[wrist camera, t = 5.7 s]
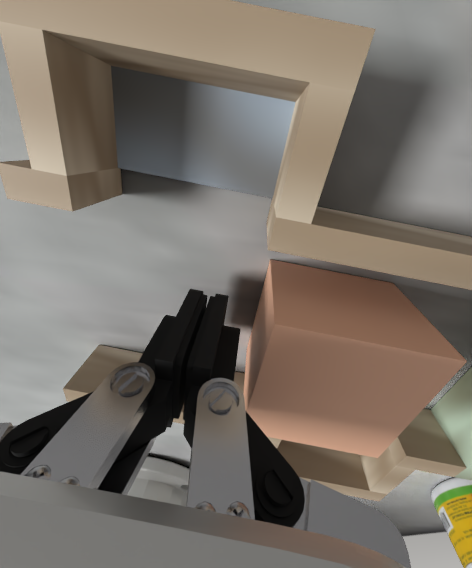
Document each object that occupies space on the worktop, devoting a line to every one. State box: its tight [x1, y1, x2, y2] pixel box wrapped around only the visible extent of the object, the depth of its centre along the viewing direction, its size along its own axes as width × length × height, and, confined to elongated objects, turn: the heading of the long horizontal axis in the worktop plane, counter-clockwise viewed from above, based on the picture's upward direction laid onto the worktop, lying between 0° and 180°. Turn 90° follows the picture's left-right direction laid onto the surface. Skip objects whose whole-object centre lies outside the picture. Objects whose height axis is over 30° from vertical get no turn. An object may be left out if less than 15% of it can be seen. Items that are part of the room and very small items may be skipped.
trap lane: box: [0, 0, 472, 501], centre depth 11 cm, size 19×21×3 cm
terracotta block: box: [243, 259, 467, 458], centre depth 10 cm, size 6×6×4 cm
